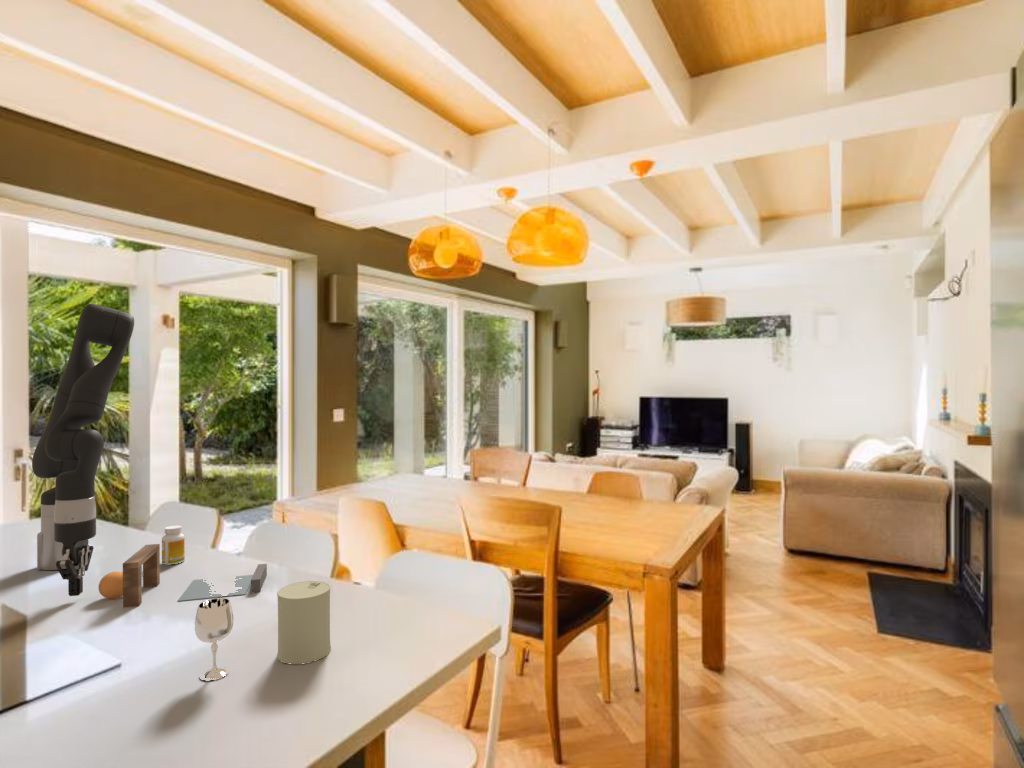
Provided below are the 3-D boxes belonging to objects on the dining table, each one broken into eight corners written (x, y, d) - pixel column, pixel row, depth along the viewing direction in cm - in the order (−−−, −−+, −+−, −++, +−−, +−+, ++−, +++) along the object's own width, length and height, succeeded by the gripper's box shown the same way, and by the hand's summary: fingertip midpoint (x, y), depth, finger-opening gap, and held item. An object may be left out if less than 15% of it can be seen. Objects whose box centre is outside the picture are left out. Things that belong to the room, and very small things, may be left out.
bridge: (122, 607, 124) (122, 563, 124) (145, 584, 138) (145, 544, 138) (138, 606, 125) (138, 562, 125) (159, 583, 139) (159, 543, 139)
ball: (123, 573, 128) (124, 600, 128) (134, 566, 134) (135, 592, 133) (92, 576, 126) (93, 604, 126) (105, 569, 132) (106, 595, 132)
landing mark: (177, 601, 128) (177, 600, 128) (193, 580, 141) (193, 580, 141) (245, 594, 132) (245, 593, 132) (254, 575, 145) (254, 574, 145)
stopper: (250, 592, 133) (250, 580, 133) (258, 576, 144) (258, 564, 144) (260, 591, 133) (260, 579, 133) (266, 575, 145) (266, 563, 145)
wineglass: (194, 687, 92) (194, 612, 92) (195, 671, 97) (195, 600, 97) (234, 678, 94) (233, 606, 94) (233, 663, 99) (232, 594, 99)
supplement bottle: (189, 559, 158) (188, 524, 158) (175, 566, 153) (175, 529, 153) (171, 559, 159) (170, 524, 159) (157, 565, 153) (156, 529, 153)
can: (341, 645, 106) (341, 581, 106) (308, 668, 97) (308, 598, 97) (300, 638, 109) (300, 575, 109) (265, 660, 100) (265, 592, 100)
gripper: (81, 523, 123) (82, 603, 123) (106, 510, 135) (106, 583, 135) (40, 526, 121) (40, 607, 121) (69, 512, 133) (69, 586, 133)
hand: (75, 594), depth 128 cm, fingers closed
